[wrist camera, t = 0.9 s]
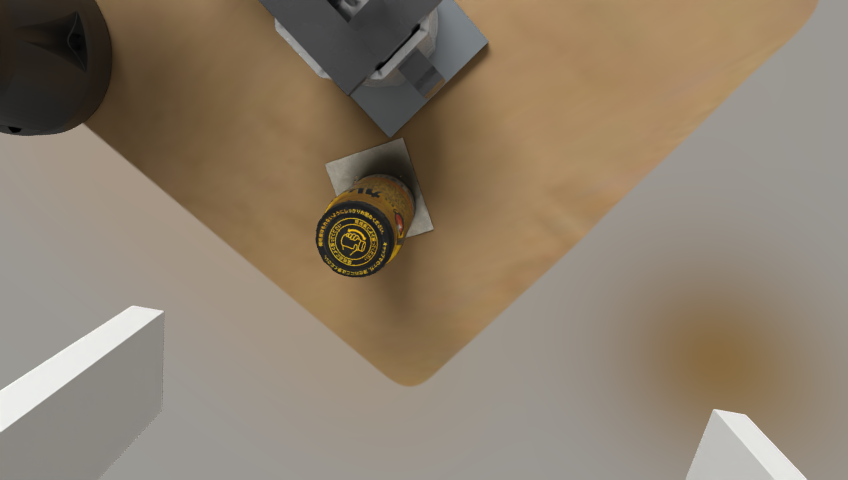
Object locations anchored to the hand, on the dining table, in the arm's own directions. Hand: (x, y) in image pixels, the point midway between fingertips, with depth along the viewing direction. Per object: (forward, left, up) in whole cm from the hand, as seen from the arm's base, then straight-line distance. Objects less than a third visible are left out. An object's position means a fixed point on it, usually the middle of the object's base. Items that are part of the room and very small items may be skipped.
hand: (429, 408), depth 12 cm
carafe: (-13, +5, -31) cm, 34 cm away
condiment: (-4, -5, -32) cm, 33 cm away
